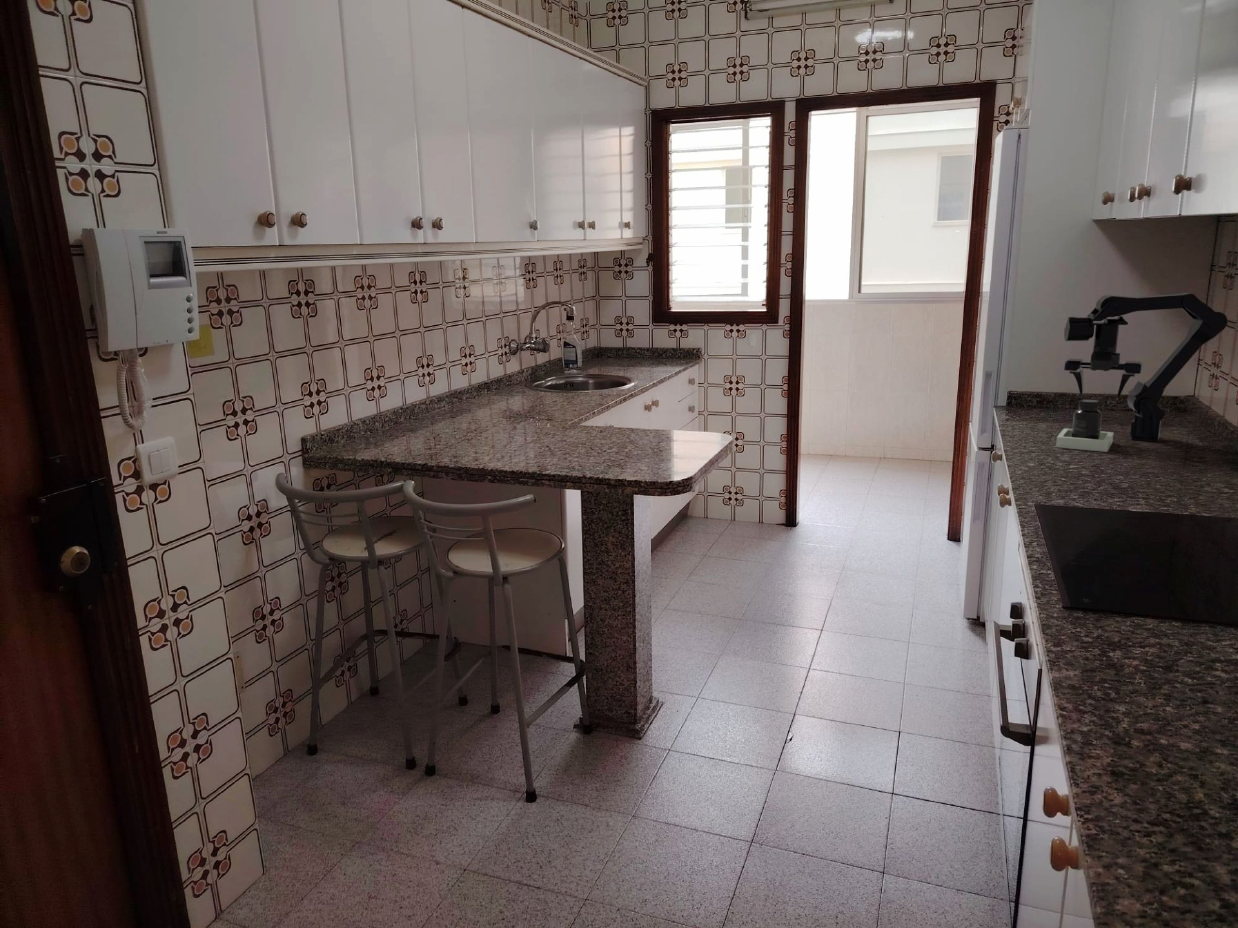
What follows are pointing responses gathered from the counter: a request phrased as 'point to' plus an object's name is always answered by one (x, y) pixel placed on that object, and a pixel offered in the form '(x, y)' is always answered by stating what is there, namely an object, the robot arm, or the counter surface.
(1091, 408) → the supplement bottle
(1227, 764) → the counter surface
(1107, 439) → the mint green square tray
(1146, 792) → the counter surface
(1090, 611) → the counter surface
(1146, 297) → the robot arm
